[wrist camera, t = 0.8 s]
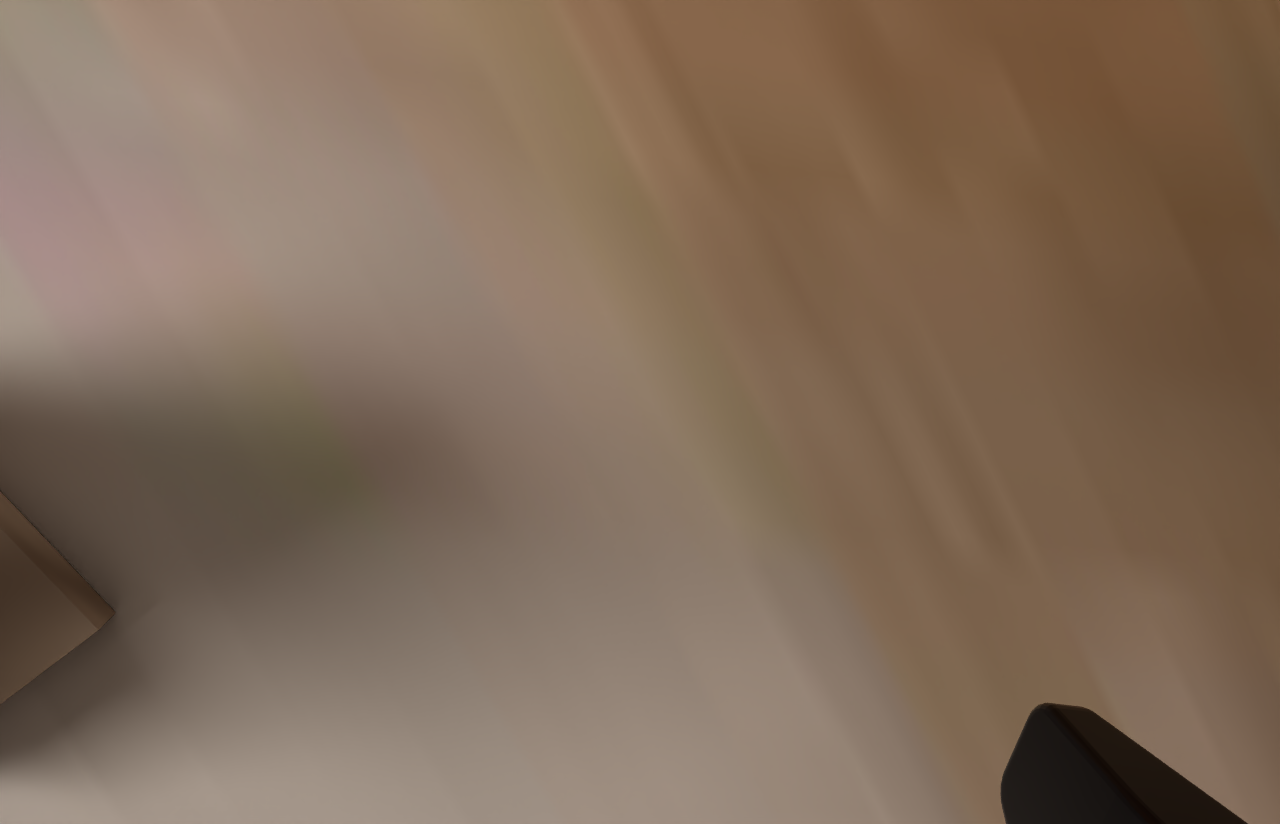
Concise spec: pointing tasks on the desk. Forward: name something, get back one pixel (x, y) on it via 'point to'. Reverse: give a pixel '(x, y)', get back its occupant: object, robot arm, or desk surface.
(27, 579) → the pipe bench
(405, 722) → the desk surface
